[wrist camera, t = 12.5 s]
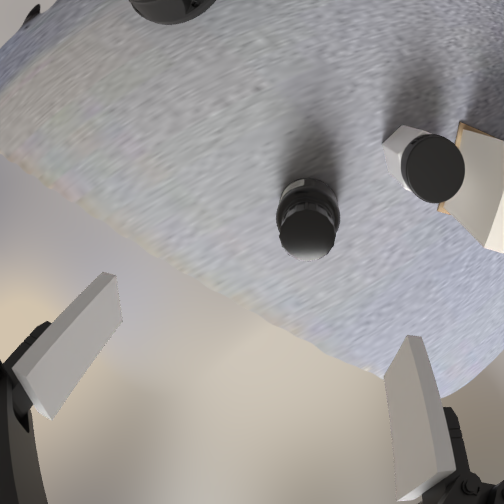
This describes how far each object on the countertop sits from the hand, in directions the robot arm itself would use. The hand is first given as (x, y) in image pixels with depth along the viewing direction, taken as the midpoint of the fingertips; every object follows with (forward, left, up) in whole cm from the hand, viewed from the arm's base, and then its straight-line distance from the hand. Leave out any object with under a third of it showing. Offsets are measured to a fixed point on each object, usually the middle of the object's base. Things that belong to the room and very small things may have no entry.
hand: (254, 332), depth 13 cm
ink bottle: (+6, +3, -37) cm, 38 cm away
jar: (-5, +17, -37) cm, 41 cm away
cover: (-5, +31, -36) cm, 48 cm away
